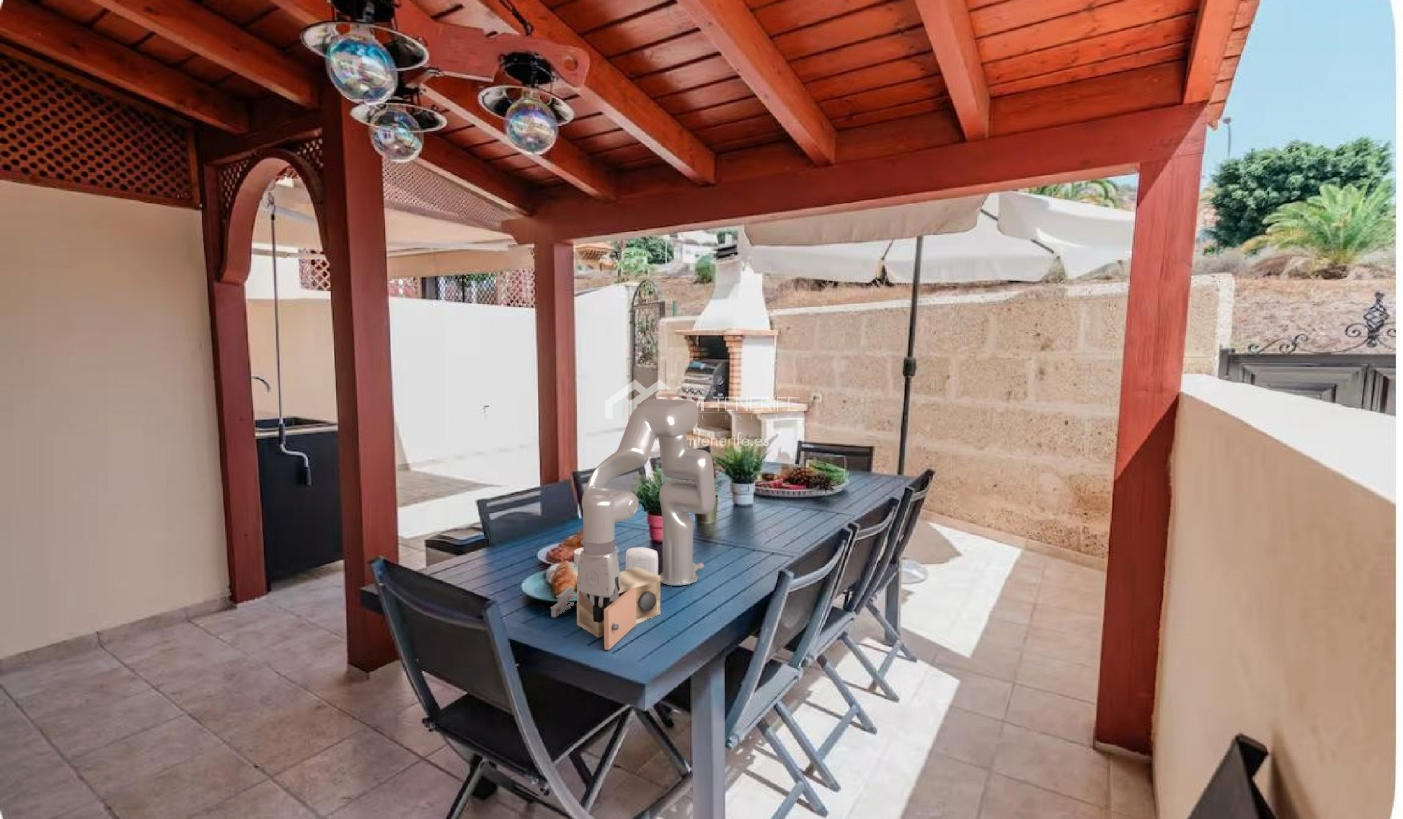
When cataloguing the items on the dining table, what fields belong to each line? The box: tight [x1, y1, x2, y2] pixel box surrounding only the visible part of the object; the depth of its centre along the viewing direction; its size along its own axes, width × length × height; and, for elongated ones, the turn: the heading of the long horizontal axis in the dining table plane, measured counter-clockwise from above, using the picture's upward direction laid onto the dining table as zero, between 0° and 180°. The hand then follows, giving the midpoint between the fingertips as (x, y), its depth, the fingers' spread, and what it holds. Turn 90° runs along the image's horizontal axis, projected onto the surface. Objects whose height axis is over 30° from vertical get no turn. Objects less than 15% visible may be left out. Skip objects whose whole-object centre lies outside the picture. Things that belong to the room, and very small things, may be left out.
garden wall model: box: [549, 586, 575, 618], centre depth 174 cm, size 12×2×6 cm, turn 159°
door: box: [603, 588, 637, 651], centre depth 156 cm, size 15×2×10 cm, turn 160°
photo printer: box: [624, 546, 659, 575], centre depth 191 cm, size 10×4×12 cm, turn 78°
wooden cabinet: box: [576, 567, 661, 638], centre depth 167 cm, size 20×11×11 cm, turn 133°
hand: (599, 620), depth 153 cm, fingers closed
